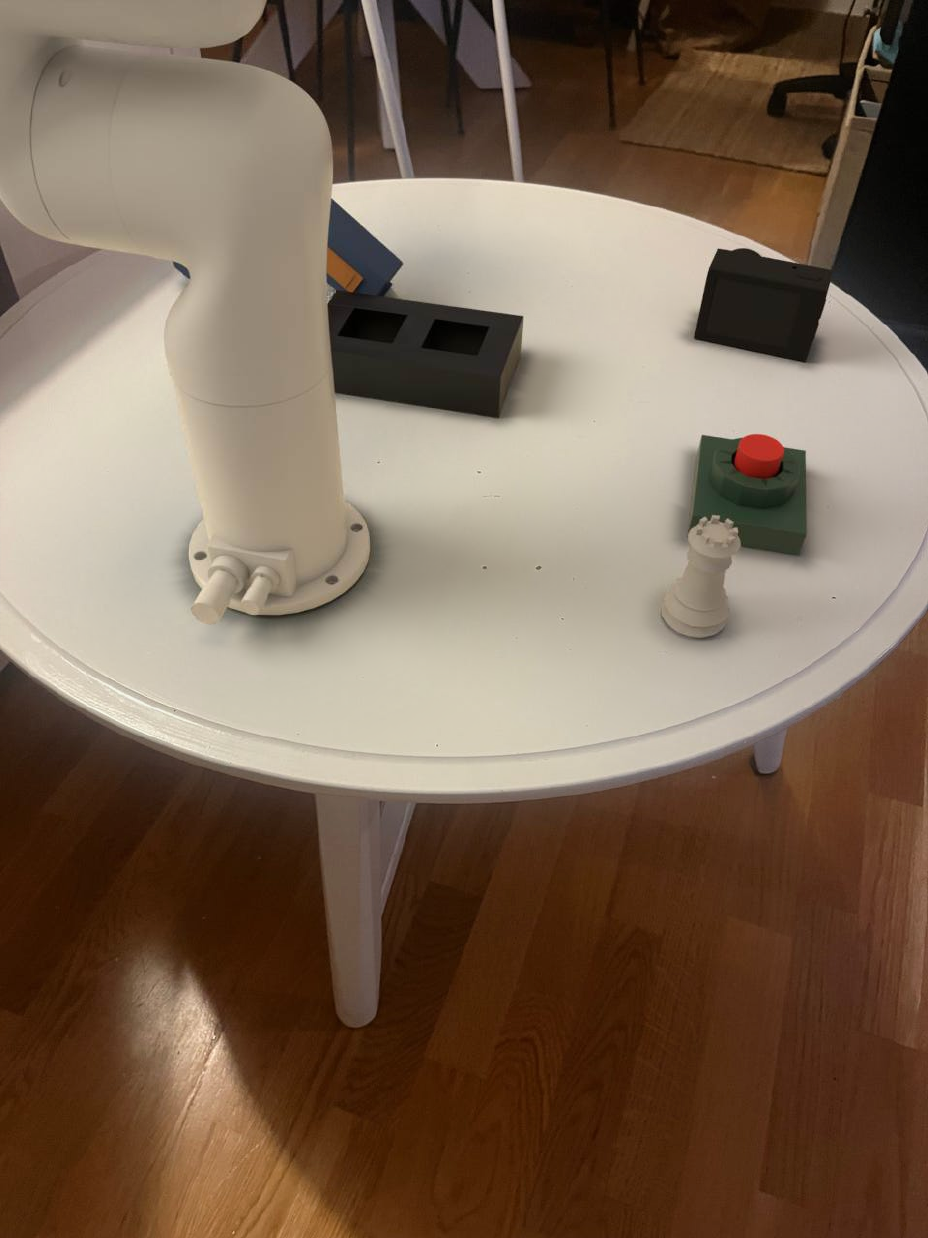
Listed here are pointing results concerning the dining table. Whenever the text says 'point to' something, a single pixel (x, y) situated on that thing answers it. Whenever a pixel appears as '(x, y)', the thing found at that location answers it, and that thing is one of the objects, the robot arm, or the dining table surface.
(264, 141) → the robot arm
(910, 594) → the dining table surface
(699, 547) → the rook chess piece
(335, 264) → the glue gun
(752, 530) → the switch box
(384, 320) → the holder
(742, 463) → the power button
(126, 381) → the dining table surface
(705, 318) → the digital camera
